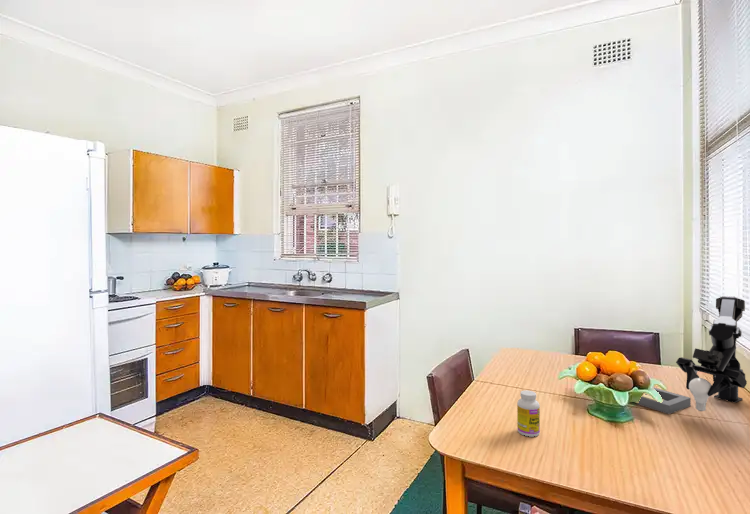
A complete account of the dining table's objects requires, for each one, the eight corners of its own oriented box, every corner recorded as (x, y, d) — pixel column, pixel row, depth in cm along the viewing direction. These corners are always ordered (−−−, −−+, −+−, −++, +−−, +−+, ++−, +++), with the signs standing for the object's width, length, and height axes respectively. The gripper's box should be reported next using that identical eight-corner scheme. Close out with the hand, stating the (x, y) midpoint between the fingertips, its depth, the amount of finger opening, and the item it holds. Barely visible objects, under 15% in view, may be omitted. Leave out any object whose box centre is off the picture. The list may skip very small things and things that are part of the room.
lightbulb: (717, 415, 134) (717, 381, 133) (695, 414, 135) (695, 381, 134) (705, 407, 140) (705, 375, 139) (684, 406, 141) (684, 374, 141)
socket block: (652, 394, 160) (652, 386, 160) (690, 406, 149) (690, 396, 148) (630, 401, 154) (630, 393, 153) (669, 414, 142) (669, 404, 142)
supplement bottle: (529, 439, 126) (528, 398, 126) (512, 431, 132) (512, 391, 132) (544, 434, 129) (544, 394, 129) (527, 426, 135) (527, 387, 135)
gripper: (679, 334, 147) (657, 369, 143) (741, 346, 129) (717, 386, 126) (694, 353, 150) (673, 388, 146) (756, 368, 132) (734, 407, 129)
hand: (697, 391), depth 137 cm, fingers closed on lightbulb, 6 cm apart
